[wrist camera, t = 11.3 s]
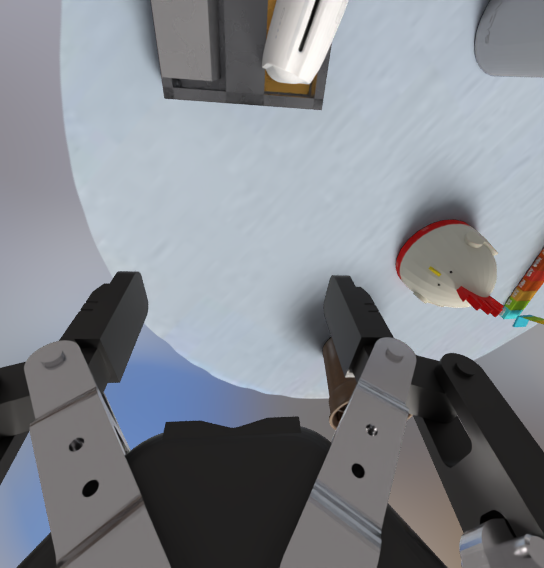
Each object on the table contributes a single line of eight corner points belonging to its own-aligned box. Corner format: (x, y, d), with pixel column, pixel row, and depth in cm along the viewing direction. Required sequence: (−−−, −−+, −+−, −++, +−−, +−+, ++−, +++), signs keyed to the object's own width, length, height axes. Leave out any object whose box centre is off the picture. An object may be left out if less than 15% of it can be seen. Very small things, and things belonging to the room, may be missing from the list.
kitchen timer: (432, 207, 43) (502, 258, 31) (492, 234, 47) (575, 288, 35) (380, 275, 51) (421, 336, 39) (436, 293, 55) (488, 353, 43)
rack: (339, -75, 25) (387, -152, 16) (314, 106, 34) (338, 118, 25) (147, -102, 23) (88, -204, 15) (172, 95, 32) (144, 104, 23)
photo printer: (297, -77, 22) (335, -194, 13) (342, -47, 24) (409, -132, 14) (255, 71, 28) (260, 70, 18) (293, 89, 29) (316, 98, 19)
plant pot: (358, 372, 70) (383, 439, 57) (301, 362, 66) (314, 432, 53) (397, 330, 61) (437, 398, 48) (334, 315, 57) (359, 386, 44)
